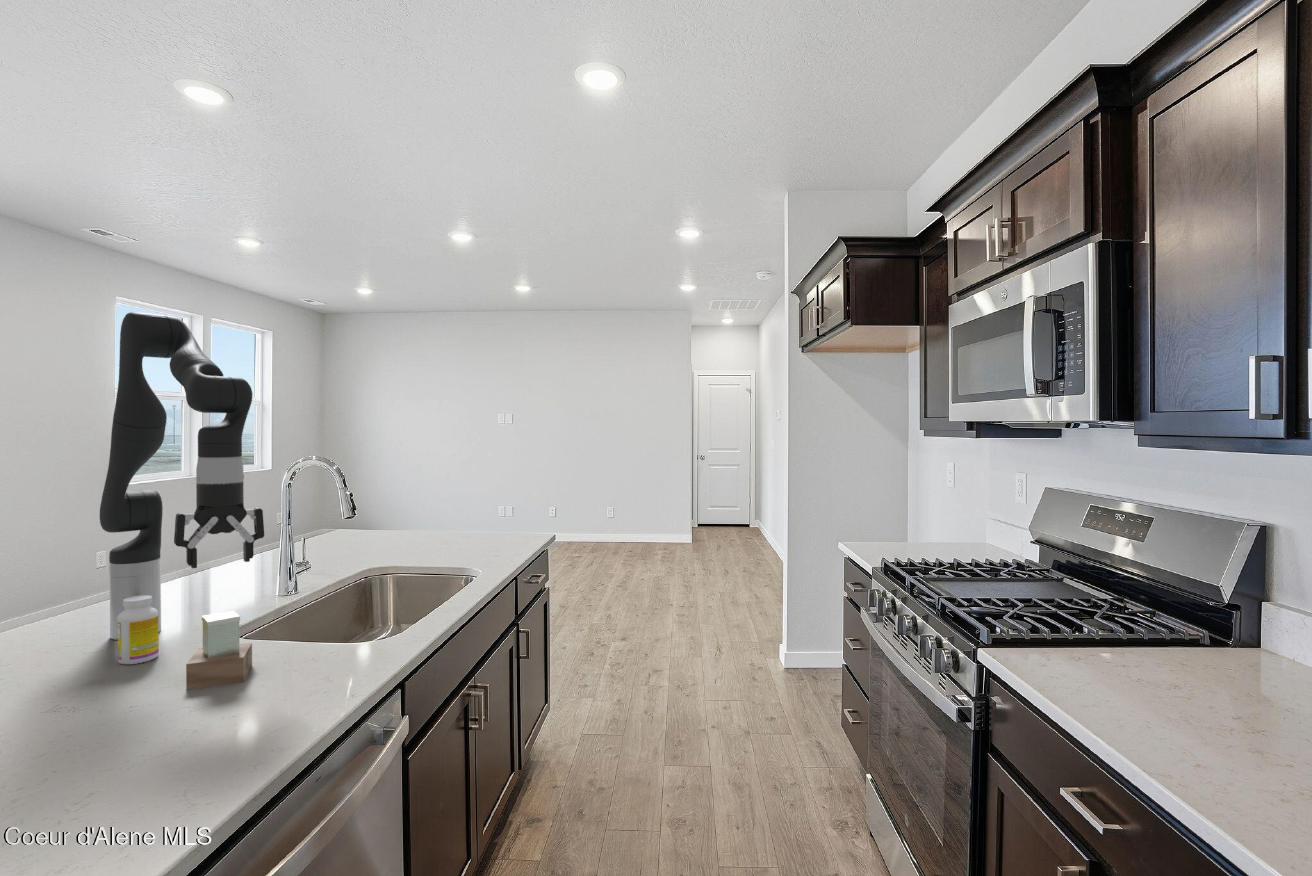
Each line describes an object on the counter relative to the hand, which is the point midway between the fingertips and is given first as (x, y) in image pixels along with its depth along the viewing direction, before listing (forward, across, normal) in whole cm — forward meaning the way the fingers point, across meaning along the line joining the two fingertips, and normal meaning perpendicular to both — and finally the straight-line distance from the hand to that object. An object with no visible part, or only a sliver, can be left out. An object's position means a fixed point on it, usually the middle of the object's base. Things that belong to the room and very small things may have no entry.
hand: (220, 564), depth 125 cm
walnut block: (+22, 0, 0) cm, 22 cm away
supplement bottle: (+22, +11, -22) cm, 33 cm away
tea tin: (+17, 0, 0) cm, 17 cm away
